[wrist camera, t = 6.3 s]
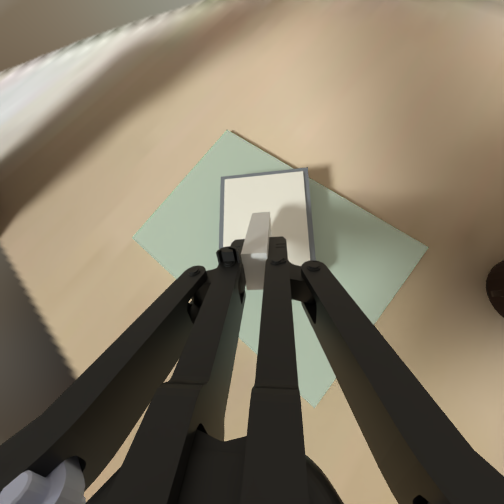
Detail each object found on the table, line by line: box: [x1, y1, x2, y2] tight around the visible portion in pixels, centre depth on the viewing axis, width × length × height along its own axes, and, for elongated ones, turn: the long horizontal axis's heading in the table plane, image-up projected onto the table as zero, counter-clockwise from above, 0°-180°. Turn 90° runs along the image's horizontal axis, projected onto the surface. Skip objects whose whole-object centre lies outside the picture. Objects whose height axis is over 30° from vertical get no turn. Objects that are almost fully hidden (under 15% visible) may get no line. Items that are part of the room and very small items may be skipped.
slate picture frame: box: [218, 167, 316, 266], centre depth 21 cm, size 3×9×11 cm
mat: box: [132, 130, 429, 408], centre depth 22 cm, size 26×18×1 cm
